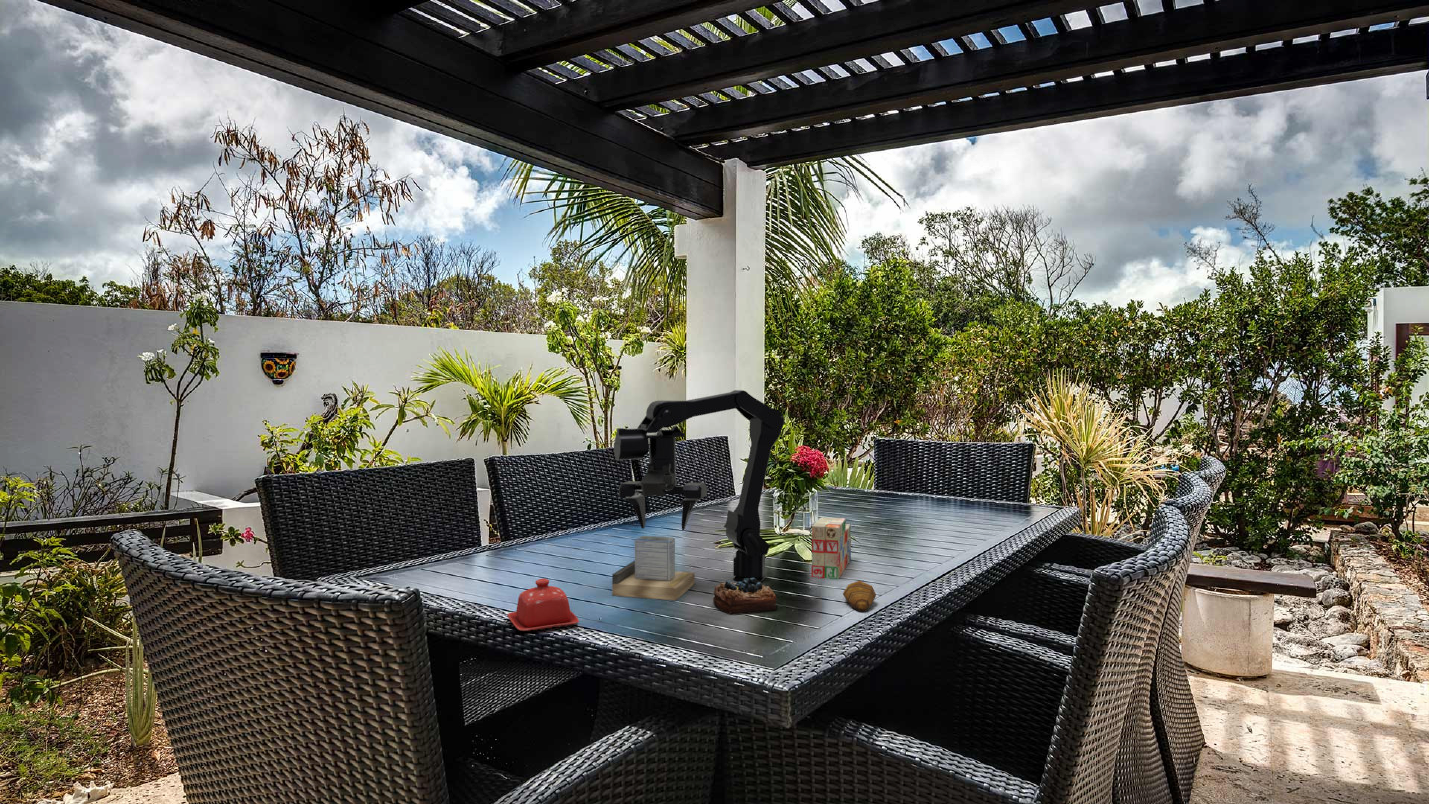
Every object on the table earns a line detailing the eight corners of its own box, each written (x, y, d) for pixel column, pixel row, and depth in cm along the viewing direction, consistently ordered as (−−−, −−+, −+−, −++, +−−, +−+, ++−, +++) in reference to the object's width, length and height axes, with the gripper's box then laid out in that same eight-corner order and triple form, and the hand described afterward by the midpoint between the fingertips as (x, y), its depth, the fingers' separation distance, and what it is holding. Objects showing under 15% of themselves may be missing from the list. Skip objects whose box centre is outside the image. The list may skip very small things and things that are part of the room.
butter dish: (518, 637, 142) (517, 589, 142) (505, 619, 153) (505, 575, 152) (581, 629, 147) (581, 582, 147) (565, 612, 157) (565, 569, 157)
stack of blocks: (826, 558, 206) (827, 510, 206) (851, 560, 204) (851, 512, 204) (811, 578, 186) (811, 525, 185) (838, 580, 184) (838, 526, 183)
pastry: (707, 603, 165) (707, 574, 165) (760, 597, 169) (760, 569, 169) (727, 617, 154) (727, 587, 154) (783, 611, 159) (783, 582, 159)
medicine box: (675, 576, 175) (675, 537, 175) (669, 581, 171) (669, 541, 171) (641, 574, 177) (641, 535, 177) (634, 579, 173) (634, 539, 173)
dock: (694, 583, 179) (694, 563, 179) (675, 600, 166) (676, 578, 165) (635, 579, 183) (635, 560, 183) (612, 595, 169) (612, 574, 169)
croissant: (880, 614, 157) (880, 589, 157) (845, 614, 158) (845, 588, 158) (872, 596, 171) (872, 573, 170) (839, 595, 171) (840, 572, 171)
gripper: (608, 461, 170) (609, 534, 171) (694, 462, 166) (694, 537, 166) (626, 456, 181) (627, 525, 182) (707, 457, 177) (707, 528, 177)
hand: (663, 529), depth 176 cm, fingers open, 9 cm apart
